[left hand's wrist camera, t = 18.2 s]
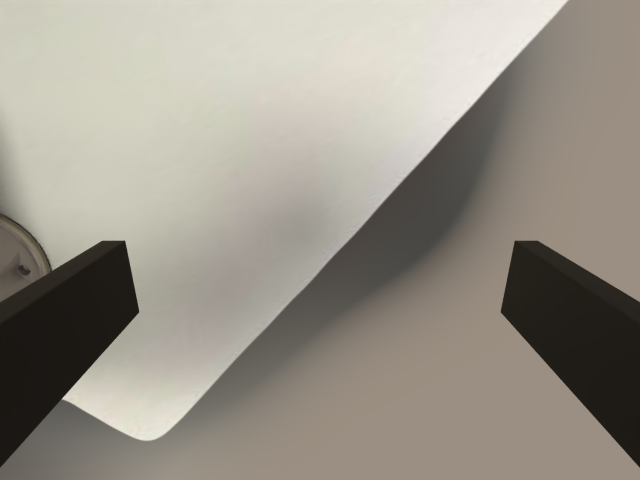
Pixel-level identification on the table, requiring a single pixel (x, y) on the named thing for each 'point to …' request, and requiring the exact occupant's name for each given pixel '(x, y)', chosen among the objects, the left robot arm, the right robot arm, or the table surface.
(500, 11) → the table surface
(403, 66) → the table surface
